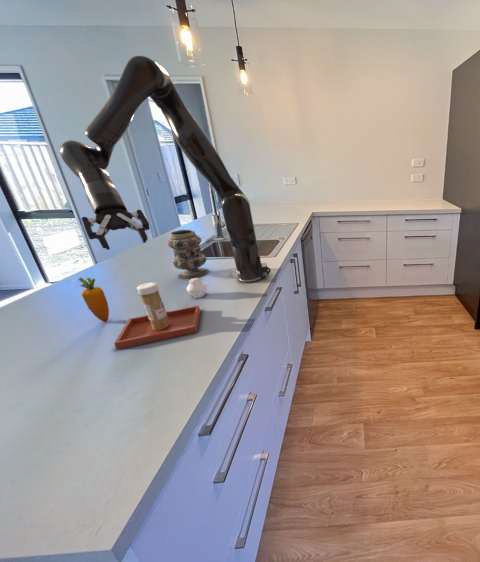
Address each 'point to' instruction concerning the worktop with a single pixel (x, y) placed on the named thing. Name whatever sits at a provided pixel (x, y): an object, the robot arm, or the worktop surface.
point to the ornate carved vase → (187, 253)
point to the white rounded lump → (196, 288)
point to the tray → (143, 332)
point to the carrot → (95, 299)
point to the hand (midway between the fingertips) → (126, 244)
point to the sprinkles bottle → (153, 305)
